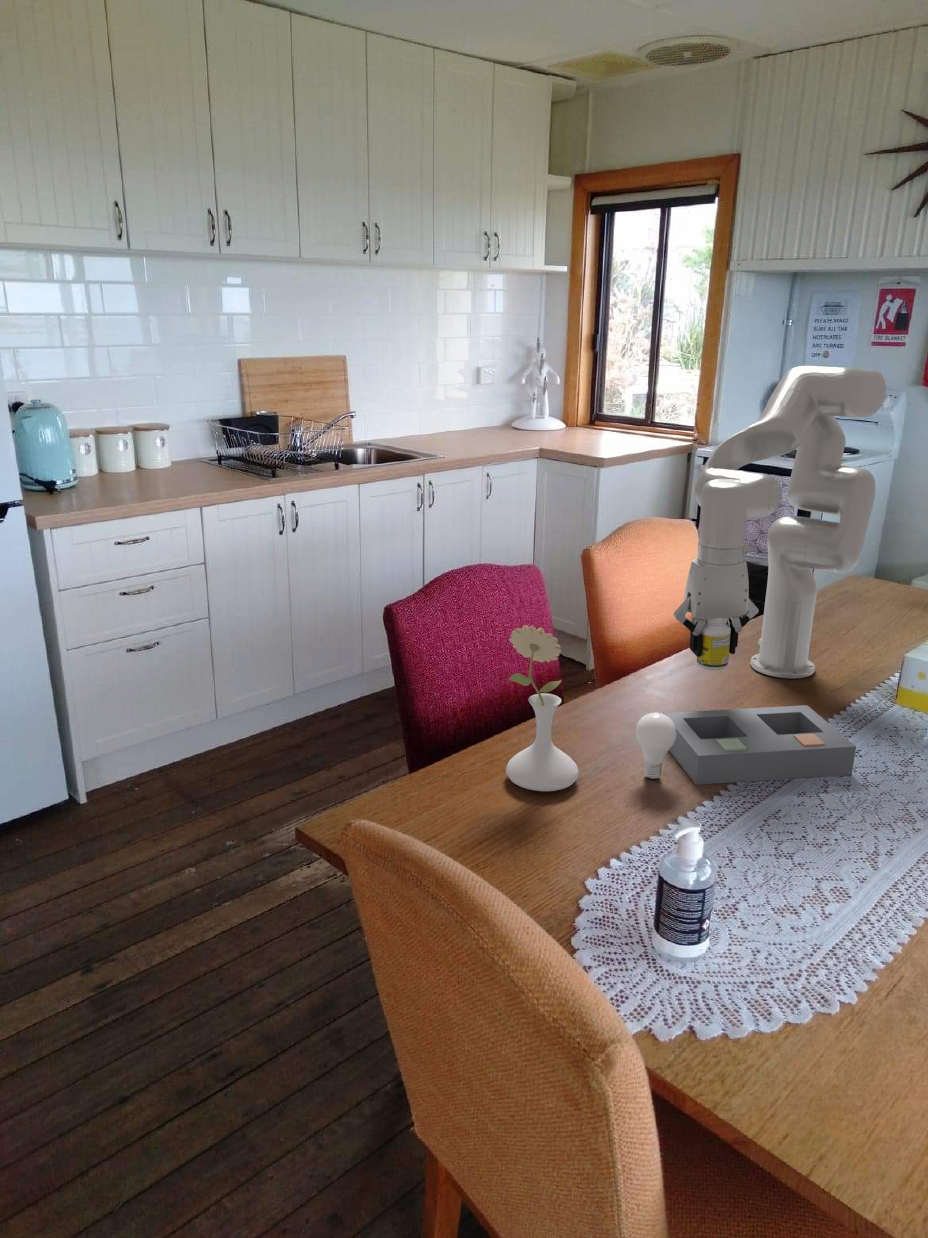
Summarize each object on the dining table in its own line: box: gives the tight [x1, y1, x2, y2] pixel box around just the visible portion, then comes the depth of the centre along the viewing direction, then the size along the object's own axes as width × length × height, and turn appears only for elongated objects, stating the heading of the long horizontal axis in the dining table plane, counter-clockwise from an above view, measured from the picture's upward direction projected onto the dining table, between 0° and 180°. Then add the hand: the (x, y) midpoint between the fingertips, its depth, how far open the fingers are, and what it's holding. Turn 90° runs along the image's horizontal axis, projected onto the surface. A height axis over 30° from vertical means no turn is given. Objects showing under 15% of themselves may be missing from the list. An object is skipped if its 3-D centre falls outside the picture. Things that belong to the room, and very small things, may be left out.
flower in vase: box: [505, 624, 580, 792], centre depth 142 cm, size 13×11×25 cm
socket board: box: [662, 704, 857, 786], centre depth 153 cm, size 16×26×5 cm, turn 98°
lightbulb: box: [634, 711, 677, 780], centre depth 145 cm, size 6×6×11 cm
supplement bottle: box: [696, 618, 731, 671], centre depth 162 cm, size 5×5×10 cm
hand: (712, 651), depth 163 cm, fingers closed on supplement bottle, 5 cm apart
